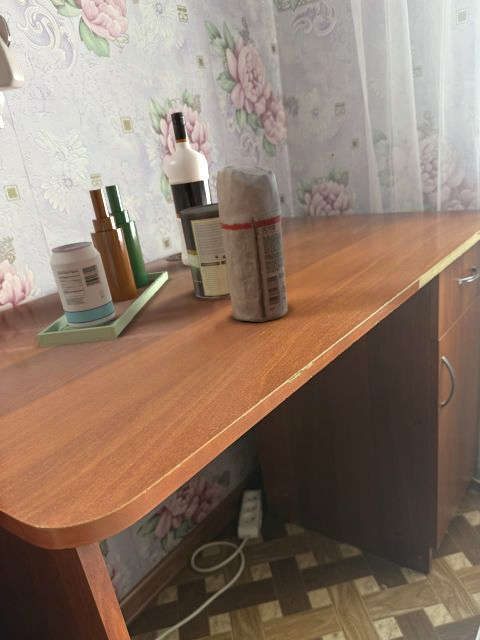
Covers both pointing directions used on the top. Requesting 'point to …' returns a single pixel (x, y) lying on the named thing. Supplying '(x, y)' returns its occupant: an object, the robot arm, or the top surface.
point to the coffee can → (205, 250)
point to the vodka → (186, 176)
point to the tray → (67, 335)
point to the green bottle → (128, 236)
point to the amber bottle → (112, 250)
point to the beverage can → (82, 285)
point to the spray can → (252, 242)
